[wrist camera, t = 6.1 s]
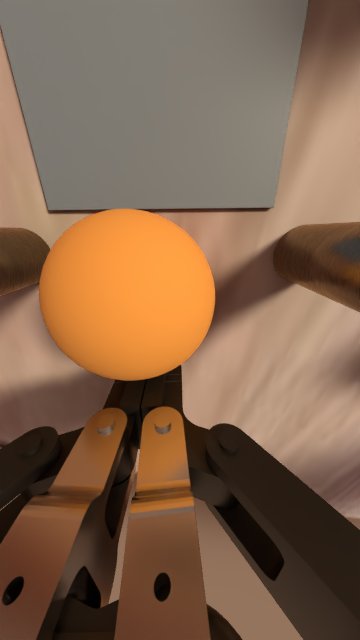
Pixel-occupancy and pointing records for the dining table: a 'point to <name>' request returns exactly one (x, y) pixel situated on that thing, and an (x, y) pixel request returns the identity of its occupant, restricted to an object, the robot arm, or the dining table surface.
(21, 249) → the post
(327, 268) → the post
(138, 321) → the ball
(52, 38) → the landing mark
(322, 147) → the dining table surface
